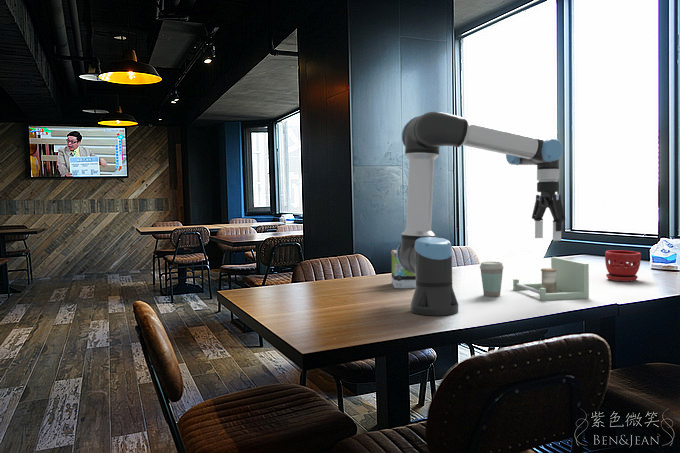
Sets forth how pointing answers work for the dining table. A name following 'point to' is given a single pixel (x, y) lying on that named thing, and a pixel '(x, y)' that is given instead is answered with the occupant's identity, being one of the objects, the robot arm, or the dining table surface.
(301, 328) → the dining table surface
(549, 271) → the spool
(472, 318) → the dining table surface
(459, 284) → the dining table surface
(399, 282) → the tea box
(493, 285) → the coffee cup
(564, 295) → the pale green rack stand
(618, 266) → the plant pot
